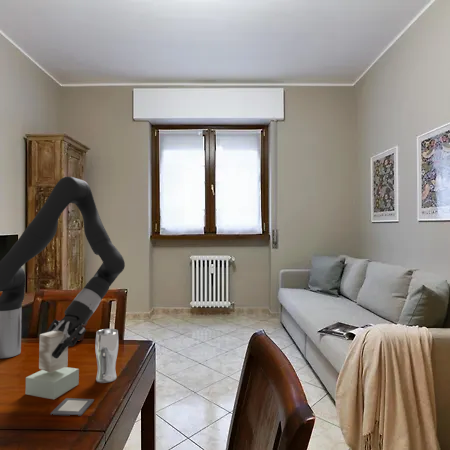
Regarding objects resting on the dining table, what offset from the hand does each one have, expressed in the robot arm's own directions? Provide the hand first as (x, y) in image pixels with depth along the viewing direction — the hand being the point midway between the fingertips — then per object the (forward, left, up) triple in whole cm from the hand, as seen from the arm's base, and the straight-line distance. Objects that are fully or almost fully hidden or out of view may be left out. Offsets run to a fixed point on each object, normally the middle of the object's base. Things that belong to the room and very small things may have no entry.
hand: (48, 354), depth 103 cm
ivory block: (+1, +2, -4) cm, 5 cm away
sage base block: (+1, +1, -11) cm, 11 cm away
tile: (+12, -9, -11) cm, 18 cm away
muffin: (-15, +46, -11) cm, 50 cm away
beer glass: (+14, +9, -11) cm, 20 cm away
